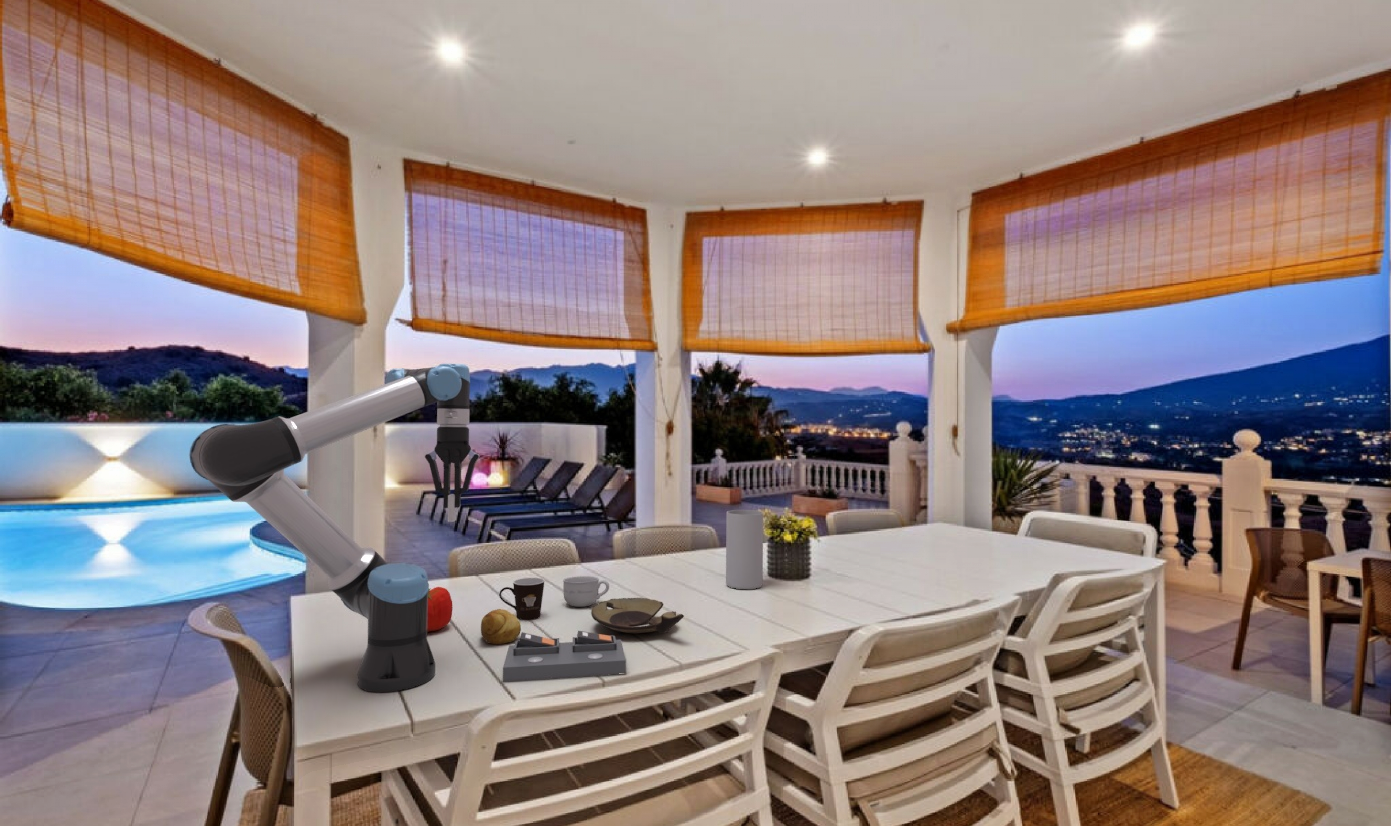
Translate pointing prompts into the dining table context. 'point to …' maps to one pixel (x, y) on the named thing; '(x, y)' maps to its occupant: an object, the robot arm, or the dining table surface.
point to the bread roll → (500, 627)
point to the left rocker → (535, 641)
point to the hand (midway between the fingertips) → (451, 520)
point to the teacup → (583, 590)
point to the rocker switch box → (563, 660)
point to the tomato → (438, 608)
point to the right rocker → (593, 638)
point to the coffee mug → (527, 597)
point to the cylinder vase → (744, 549)
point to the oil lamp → (634, 615)
